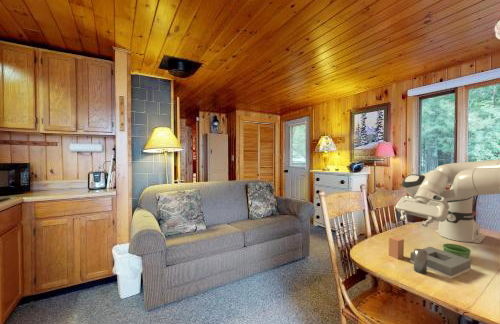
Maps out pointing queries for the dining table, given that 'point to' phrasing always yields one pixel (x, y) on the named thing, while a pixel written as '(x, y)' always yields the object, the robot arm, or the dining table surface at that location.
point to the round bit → (420, 261)
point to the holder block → (445, 262)
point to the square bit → (396, 247)
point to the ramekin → (457, 250)
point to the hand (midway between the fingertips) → (412, 222)
